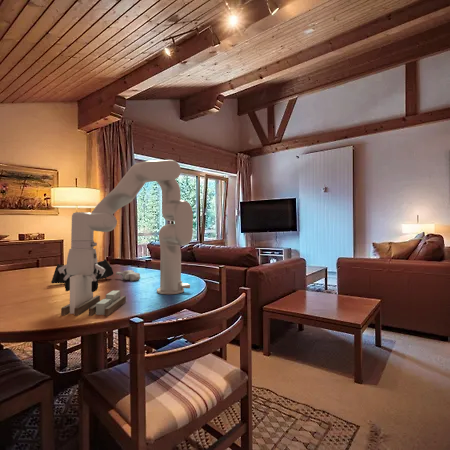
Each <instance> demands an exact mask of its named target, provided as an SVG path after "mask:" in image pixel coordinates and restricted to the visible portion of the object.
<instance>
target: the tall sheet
mask: <svg viewBox="0 0 450 450" xmlns="http://www.w3.org/2000/svg"><path fill="white" fill-rule="evenodd" d="M92 281H93V279H92V278H91V277H90V276H82V275H74V276H71V277H70V290H69V304H70V313H69V314H70V315H72V314H73V315H74V308H76V307H78V306H79V305H81V304H83V303H85V302H86V301H88V300H90V299H92V298H93V297H94V292H92Z"/></svg>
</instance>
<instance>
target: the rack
mask: <svg viewBox="0 0 450 450" xmlns="http://www.w3.org/2000/svg"><path fill="white" fill-rule="evenodd" d="M104 299H106V297H104ZM126 300H127V296H126V295H121V296H120V298H119V299H118V300H116V301H115V302H114V303H112V304H111V305H109V306H108V307H107V308H105V315H104V316H105V317H109V316H110V315H112V314H113V313H114V312H115V311H116V310H118V309H119V308H120V307H121V306H123V305H124V304H125V303H126V302H127V301H126ZM99 301H101V295H95V296H93V298H92V299H90V300H88V301H86V302H85V303H83V304H81V305H79V306H78V307H76V308H74V314H73V315H74V316H75V317H76V316H80V315H82V314H83V313H84V312H86V311H88V316H89V317H92V316H94V315H96V303H98V302H99ZM67 314H70V303H68V304H66V305H64V306H63V307H61V308H60V315H61V316H66V315H67Z"/></svg>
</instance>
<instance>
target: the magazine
mask: <svg viewBox="0 0 450 450" xmlns="http://www.w3.org/2000/svg"><path fill="white" fill-rule="evenodd" d="M97 262H98V265H99V266H101V267H103V268H105V272H104V274H103V276H102V277H101V278H100V279H99V280H104V279H105V280H108V279H107V278H110V277H111V276H114V271H113V267H112V266H111V264H110V262H109V261H108V260H107V258H106V259H103V260H100V261H97ZM64 265H65V264H59V263H57V264H56V266H55V270H54V272H53V275H52V279H51V281H50V283H51V284H65V280H63V278H62V277H61V275H60V273H59V271H58V268H60V267H62V266H64ZM64 272H65V273H66V274H67V272H66V269H64ZM99 273H100V271H99V270H98V272H97V273H96V274H97V275H98V274H99ZM99 280H98V281H99Z"/></svg>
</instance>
